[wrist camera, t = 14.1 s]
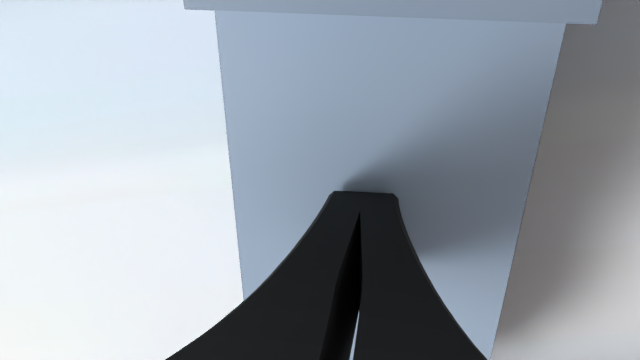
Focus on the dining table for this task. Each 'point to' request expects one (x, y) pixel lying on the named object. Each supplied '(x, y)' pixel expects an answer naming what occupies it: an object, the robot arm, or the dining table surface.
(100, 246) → the dining table surface
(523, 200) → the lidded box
